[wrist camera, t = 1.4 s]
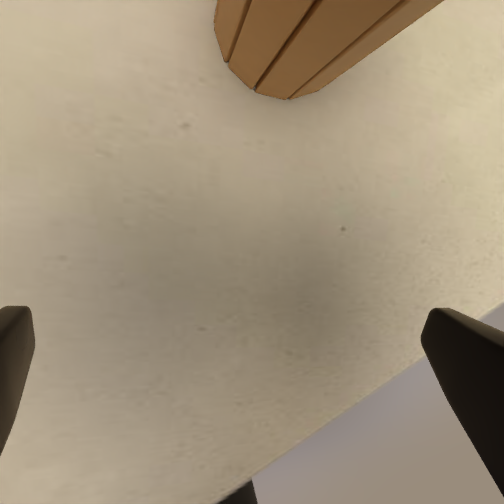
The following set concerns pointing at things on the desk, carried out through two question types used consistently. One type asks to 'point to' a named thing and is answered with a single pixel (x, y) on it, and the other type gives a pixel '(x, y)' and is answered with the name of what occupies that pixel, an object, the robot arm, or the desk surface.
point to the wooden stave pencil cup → (306, 38)
